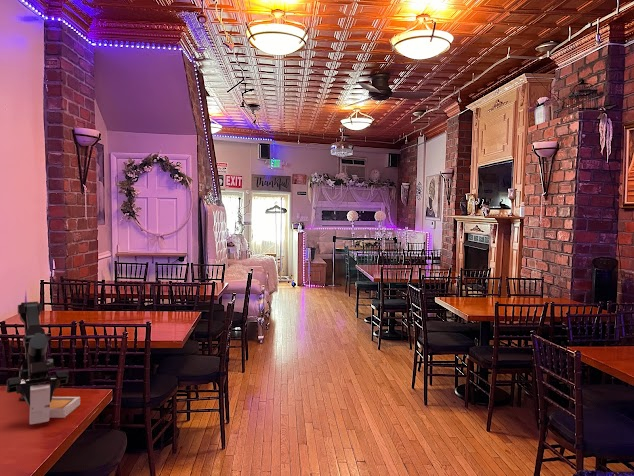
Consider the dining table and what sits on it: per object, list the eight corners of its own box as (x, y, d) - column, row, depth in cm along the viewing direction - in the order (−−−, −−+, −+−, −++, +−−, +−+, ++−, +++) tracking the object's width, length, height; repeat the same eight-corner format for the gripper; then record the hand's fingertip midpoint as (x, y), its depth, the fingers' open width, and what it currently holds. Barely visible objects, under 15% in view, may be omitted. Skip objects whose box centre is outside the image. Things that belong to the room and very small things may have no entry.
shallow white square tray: (47, 404, 182) (47, 396, 182) (80, 404, 183) (80, 396, 182) (29, 417, 170) (29, 409, 169) (64, 417, 170) (64, 409, 170)
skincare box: (29, 425, 160) (29, 390, 159) (29, 420, 163) (29, 386, 163) (50, 421, 163) (50, 387, 163) (49, 416, 167) (49, 383, 166)
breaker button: (50, 402, 180) (50, 400, 180) (70, 402, 180) (70, 400, 180) (39, 410, 172) (39, 407, 172) (61, 410, 172) (61, 407, 172)
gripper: (7, 355, 160) (8, 398, 152) (68, 348, 171) (72, 387, 162) (6, 371, 167) (7, 413, 158) (65, 363, 178) (69, 402, 169)
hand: (40, 403), depth 162 cm, fingers closed on skincare box, 6 cm apart
